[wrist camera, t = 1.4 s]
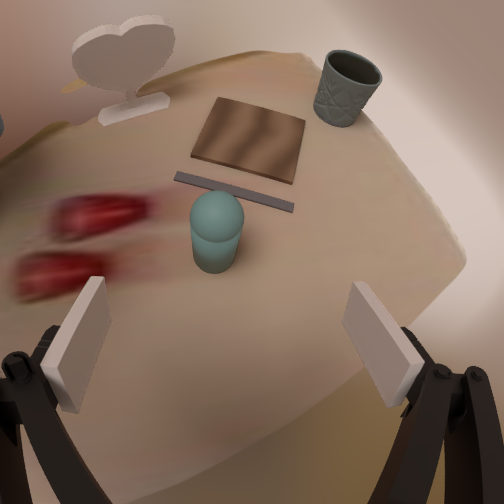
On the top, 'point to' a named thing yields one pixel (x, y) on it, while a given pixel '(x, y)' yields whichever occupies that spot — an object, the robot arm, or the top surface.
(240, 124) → the board
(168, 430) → the top surface
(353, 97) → the grey textured cup
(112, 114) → the heart sculpture
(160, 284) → the top surface
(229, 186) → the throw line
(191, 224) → the teal domed cylinder
